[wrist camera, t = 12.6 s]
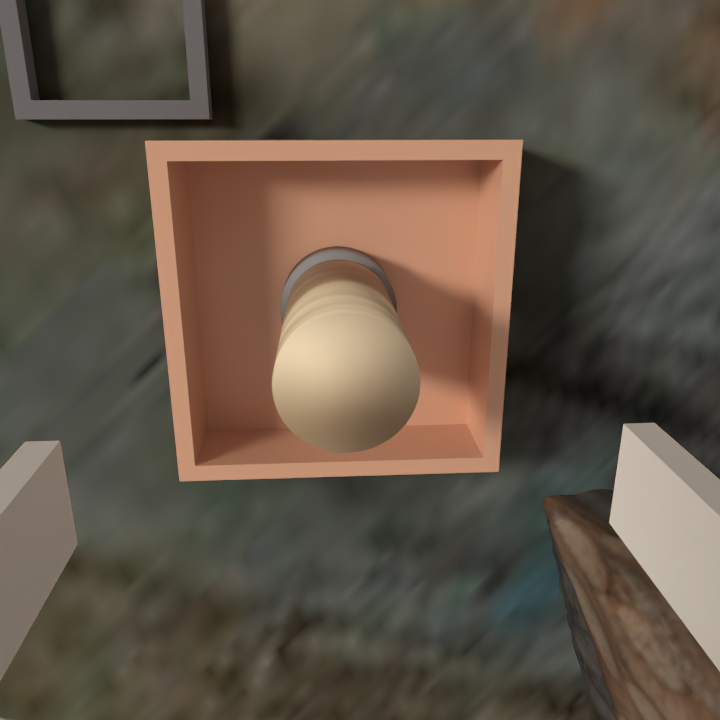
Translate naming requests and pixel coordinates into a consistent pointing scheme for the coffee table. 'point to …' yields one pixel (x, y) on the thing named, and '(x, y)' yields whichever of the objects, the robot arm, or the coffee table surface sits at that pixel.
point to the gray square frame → (8, 9)
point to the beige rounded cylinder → (343, 354)
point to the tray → (313, 232)
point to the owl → (625, 622)
